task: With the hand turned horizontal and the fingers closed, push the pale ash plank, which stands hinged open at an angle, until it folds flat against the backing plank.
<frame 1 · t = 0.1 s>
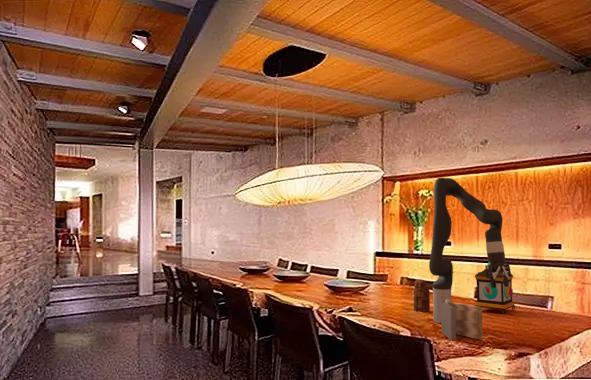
hand: (500, 287, 217), 22 cm above the table, tool pointing down, fingers open, 8 cm apart
ash plank: (465, 320, 216), point 7 cm above the table, hinge at 35.0°
decorative lantern: (494, 311, 277), on the table
wooden figurine: (421, 310, 278), on the table
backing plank: (448, 336, 216), on the table
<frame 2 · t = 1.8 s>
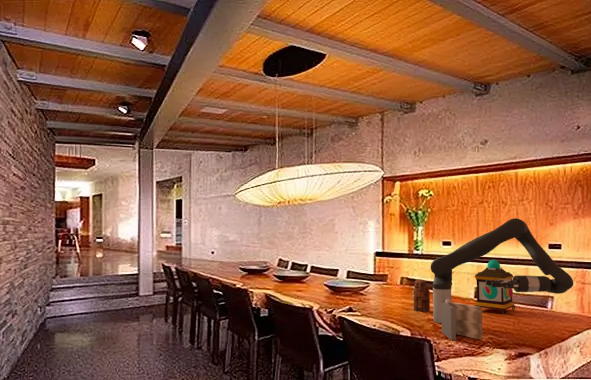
hand: (489, 283, 215), 24 cm above the table, tool horizontal, fingers open, 6 cm apart
nothing on the table moved.
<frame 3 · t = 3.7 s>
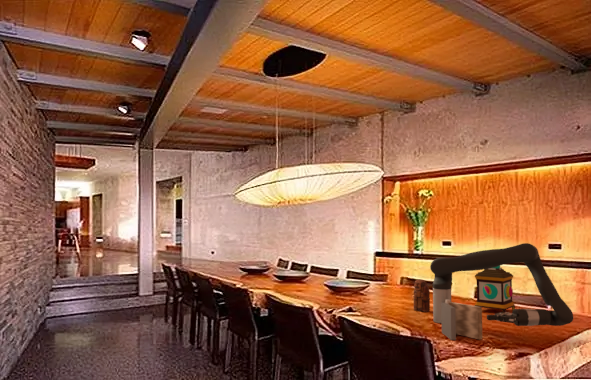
hand: (487, 317, 214), 9 cm above the table, tool horizontal, fingers closed
nothing on the table moved.
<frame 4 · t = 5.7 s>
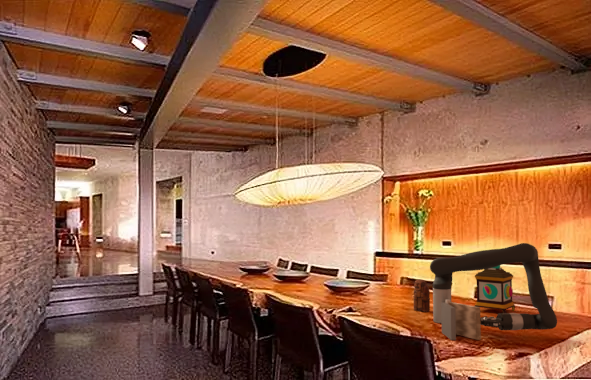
hand: (471, 321, 214), 7 cm above the table, tool horizontal, fingers closed
ash plank: (464, 320, 216), point 7 cm above the table, hinge at 30.6°, touching gripper
everything else where it was.
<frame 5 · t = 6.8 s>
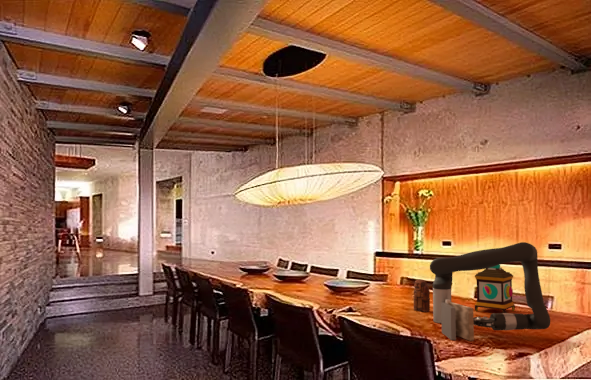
hand: (465, 322, 214), 7 cm above the table, tool horizontal, fingers closed
ash plank: (460, 320, 215), point 7 cm above the table, hinge at 16.0°, touching gripper
everything else where it was.
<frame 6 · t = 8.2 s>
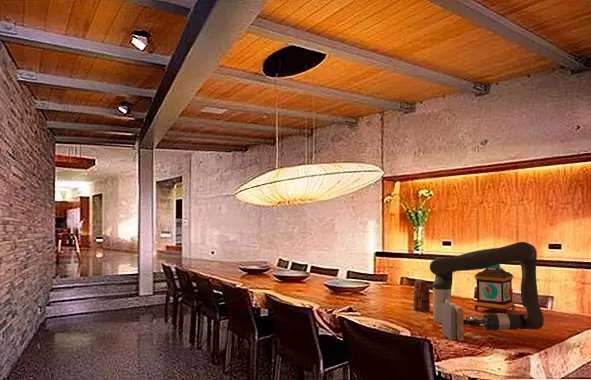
hand: (458, 322, 214), 7 cm above the table, tool horizontal, fingers closed
ash plank: (455, 320, 215), point 7 cm above the table, hinge at -0.7°, touching gripper
everything else where it was.
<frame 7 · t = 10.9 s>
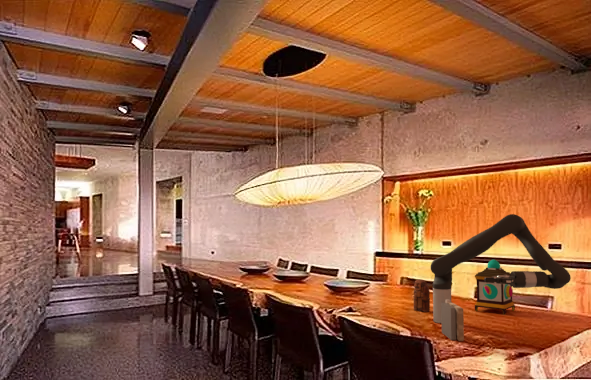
hand: (485, 280, 216), 26 cm above the table, tool horizontal, fingers closed
ash plank: (455, 320, 215), point 7 cm above the table, hinge at -0.7°
everything else where it was.
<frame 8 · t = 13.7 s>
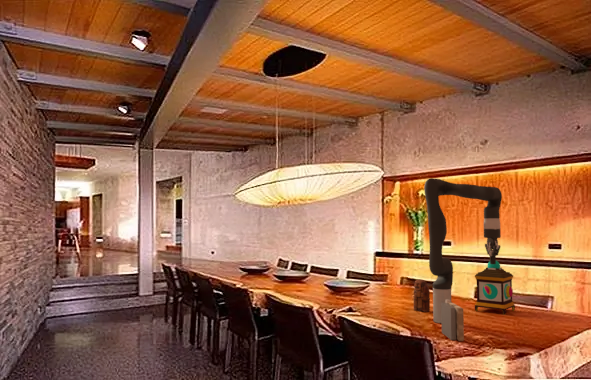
hand: (492, 264, 227), 32 cm above the table, tool pointing down, fingers closed
nothing on the table moved.
at the end: ash plank at -1° (first picture: +35°) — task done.
